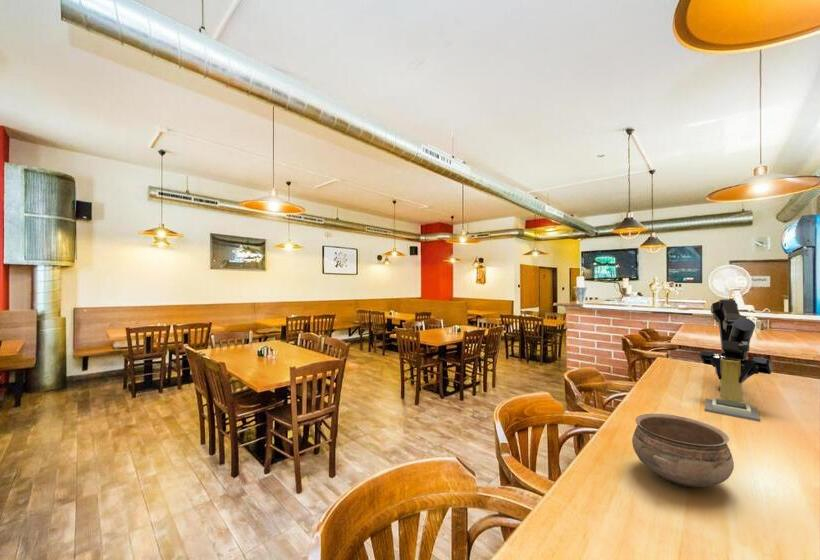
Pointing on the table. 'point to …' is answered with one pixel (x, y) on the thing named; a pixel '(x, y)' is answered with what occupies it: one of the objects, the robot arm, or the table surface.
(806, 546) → the table surface
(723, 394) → the vase
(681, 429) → the cooking pot
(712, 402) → the vase holder
